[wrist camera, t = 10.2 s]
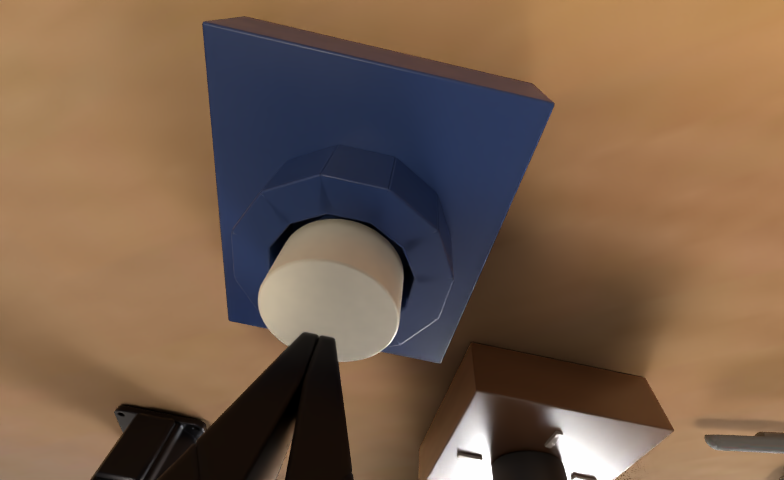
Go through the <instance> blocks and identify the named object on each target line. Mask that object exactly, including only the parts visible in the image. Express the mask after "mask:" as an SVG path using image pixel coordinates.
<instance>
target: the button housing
mask: <svg viewBox="0 0 784 480" xmlns="http://www.w3.org/2000/svg"><path fill="white" fill-rule="evenodd" d="M202 25H203V36H204V48H205V59H206V70H207V82H208V93H209V104H210V116H211V127H212V138H213V149H214V161H215V172H216V183H217V195H218V206H219V217H220V229H221V240H222V251H223V262H224V274H225V285H226V296H227V308H228V319H229V321H232V322H237V323H242V324H247V325H252V326H257V327H262V328H267V326H266V325H265V323H264V322H263V319H262V317H261V315H260V312H259V307H258V293H259V289H260V286H261V284H262V282H263V280H264V279H265V277H266V275H267V274H268V272H269V270H270V268H271V267H272V265H273V263H274V262H275V260H276V258H277V256H278V255H279V253H280V251H281V250H282V248H283V246H284V245H285V243H286V241H287V240H288V238H289V237H290V236H291V235H292V234H293V233H294V232H295V231H296V230H298V229H299V228H301V227H302V226H304V225H306V224H308V223H311V222H314V221H318V220H323V219H345V220H351V221H354V222H358V223H361V224H363V225H366V226H368V227H370V228H372V229H374V230H375V231H377V232H378V233H380V234H381V235H382V236H384V237H385V238H386V239H387V240H388V241H389V242H390V243H391V244H392V245H393V247H394V248H395V250H396V251H397V253H398V255H399V257H400V259H401V262H402V265H403V270H404V280H403V291H402V301H401V311H400V321H399V327H398V331H397V333H396V335H395V337H394V338H393V340H392V341H391V343H390V344H389V345H388V346H387V347H386V348H385V349H383V350H382V351H380V352H385V353H390V354H395V355H400V356H405V357H410V358H415V359H420V360H424V361H429V362H434V363H439V364H440V363H441V362H442V360H443V358H444V355H445V353H446V351H447V349H448V346H449V344H450V342H451V340H452V337H453V335H454V333H455V330H456V328H457V326H458V324H459V321H460V319H461V317H462V315H463V312H464V310H465V308H466V305H467V303H468V301H469V299H470V296H471V294H472V292H473V290H474V287H475V285H476V283H477V280H478V278H479V276H480V274H481V271H482V269H483V267H484V265H485V262H486V260H487V258H488V255H489V253H490V251H491V249H492V246H493V244H494V242H495V240H496V237H497V235H498V233H499V230H500V228H501V226H502V224H503V221H504V219H505V217H506V215H507V212H508V210H509V208H510V205H511V203H512V201H513V199H514V196H515V194H516V192H517V189H518V187H519V185H520V183H521V180H522V178H523V176H524V174H525V171H526V169H527V167H528V164H529V162H530V160H531V158H532V155H533V153H534V151H535V149H536V146H537V144H538V142H539V139H540V137H541V135H542V133H543V130H544V128H545V126H546V124H547V121H548V119H549V117H550V114H551V112H552V110H553V108H554V103H553V102H552V101H551V100H550V99H549V98H548V97H547V96H546V95H545V94H543V93H542V92H541V91H540V90H539V89H538V88H537V87H536V86H535V85H533V84H532V83H528V82H523V81H519V80H515V79H510V78H506V77H502V76H498V75H493V74H489V73H485V72H480V71H476V70H472V69H468V68H463V67H459V66H455V65H451V64H446V63H442V62H438V61H433V60H429V59H425V58H421V57H416V56H412V55H408V54H403V53H399V52H395V51H391V50H386V49H382V48H378V47H374V46H369V45H365V44H361V43H356V42H352V41H348V40H344V39H339V38H335V37H331V36H326V35H322V34H318V33H314V32H309V31H305V30H301V29H297V28H292V27H288V26H284V25H279V24H275V23H271V22H267V21H262V20H258V19H254V18H249V17H245V16H244V17H236V18H228V19H220V20H212V21H205V22H203V24H202ZM267 329H268V328H267Z"/></svg>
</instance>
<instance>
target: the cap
mask: <svg viewBox="0 0 784 480" xmlns="http://www.w3.org/2000/svg"><path fill="white" fill-rule="evenodd" d="M403 280H404V270H403V265H402V262H401V259H400V257H399V255H398V253H397V251H396V250H395V248H394V247H393V245H392V244H391V243H390V242H389V241H388V240H387V239H386V238H385V237H384V236H382V235H381V234H380V233H378V232H377V231H375V230H374V229H372V228H370V227H368V226H366V225H363V224H361V223H358V222H354V221H351V220H345V219H323V220H318V221H314V222H311V223H308V224H306V225H304V226H302V227H301V228H299V229H298V230H296V231H295V232H294V233H293V234H292V235H291V236H290V237H289V238H288V240H287V241H286V243H285V245H284V246H283V248H282V250H281V251H280V253H279V255H278V256H277V258H276V260H275V262H274V263H273V265H272V267H271V268H270V270H269V272H268V274H267V275H266V277H265V279H264V280H263V282H262V284H261V286H260V289H259V293H258V307H259V312H260V315H261V317H262V319H263V322H264V323H265V325H266V326H267V328H268V329H269V330H270V331H271V333H272V334H273V335H274V336H275V337H276V338H277V339H279V340H280V341H281V342H282V343H284V344H285V345H287V346H288V347H289V346H290V344H291V343H292V342H293V341H294V340H295V339H296V338H297V337H298V336H299V335H300V334H301V333H303V332H309V333H314V334H317V335H318V336H321V335H324V336H329V337H333V338H335V341H336V349H337V356H338V362H349V361H357V360H362V359H365V358H368V357H371V356H373V355H375V354H377V353H379V352H380V351H382V350H383V349H385V348H386V347H387V346H388V345H389V344H390V343H391V341H392V340H393V338H394V337H395V335H396V333H397V331H398V327H399V321H400V311H401V301H402V291H403Z"/></svg>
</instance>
